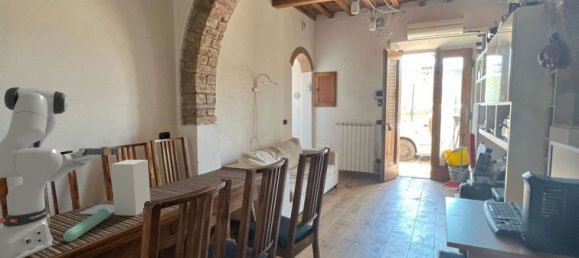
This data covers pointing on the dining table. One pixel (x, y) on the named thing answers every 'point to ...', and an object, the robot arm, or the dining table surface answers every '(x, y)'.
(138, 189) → the pedestal
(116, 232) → the dining table surface
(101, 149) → the strut
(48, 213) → the paper tube
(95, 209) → the mat
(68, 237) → the mint green rounded rod
